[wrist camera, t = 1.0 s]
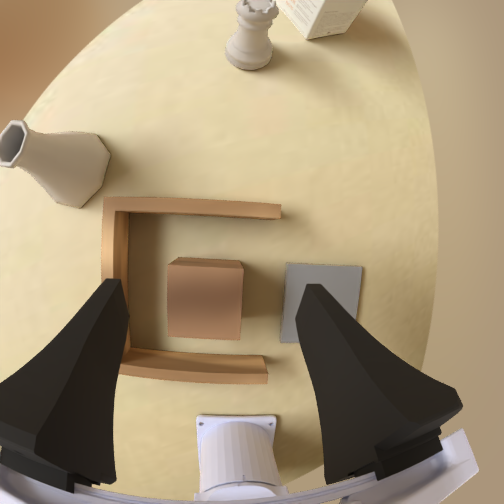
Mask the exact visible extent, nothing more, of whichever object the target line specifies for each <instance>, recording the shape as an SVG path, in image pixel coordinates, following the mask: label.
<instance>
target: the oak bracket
mask: <svg viewBox="0 0 504 504" xmlns="http://www.w3.org/2000/svg"><path fill="white" fill-rule="evenodd" d="M129 213H149V214H176V215H198V216H218V217H235V218H251V219H266V220H274V219H280V218H281V204H270V203H257V202H242V201H227V200H208V199H187V198H157V197H104V204H103V219H102V244H101V279H102V283H103V281H104V280H105V279H106V278H113V279H121V282H122V287H123V291H124V296H125V300H126V304H127V308H128V231H129ZM128 312H129V311H128ZM119 374H122V375H129V376H136V377H143V378H151V379H160V380H170V381H182V382H196V383H215V384H267V380H268V372H267V369H266V366H265V363H264V360H263V357H262V355H220V354H199V353H184V352H171V351H160V350H150V349H141V348H133V347H131V342H130V329H129V323H128V331H127V338H126V343H125V347H124V351H123V356H122V360H121V364H120V369H119Z"/></svg>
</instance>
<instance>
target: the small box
mask: <svg viewBox="0 0 504 504" xmlns="http://www.w3.org/2000/svg"><path fill="white" fill-rule="evenodd" d="M272 1H276V5H277V6H278V7H279V8H280V9H281V10H282V12H283V13H284V14H285V15H286V16H287V17H288V18H289V20H290V21H291V22H292V23H293V24H294V26H295V27H296V28H297V29H298V30H299V32H300V33H301V34H302V35H303V37H304V38H305V39H306V40H308V39H312V38H317V37H323V36H328V35H334V34H341V33H345V32H346V31H347V29H348V28H349V27H350V25H351V24H352V22H353V21H354V19H355V18H356V16H357V15H358V13H359V12H360V11H361V9H362V8H363V6H364V5H365V3H366V2H367V1H368V0H272Z"/></svg>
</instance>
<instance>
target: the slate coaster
mask: <svg viewBox="0 0 504 504" xmlns="http://www.w3.org/2000/svg"><path fill="white" fill-rule="evenodd" d="M361 276H362V266H349V265H325V264H302V263H286V275H285V287H284V299H283V311H282V322H281V332H280V342H281V343H299V339H298V333H297V328H296V322H295V317H296V314H297V311H298V308H299V305H300V302H301V299H302V296H303V293H304V290H305V287H306V284H322V285H323V286H324V287H325V288H326V290H327V291H328V292H329V293H330V294H331V295H332V296H333V297H334V298H335V299H336V300H337V301H338V302H339V303H340V304H341V305H342V307H343V308H344V309H345V310H346V311H347V312H348V313H349V314H350V315H351V316H352V317H353V318H354V319H355V320H356V315H357V308H358V301H359V293H360V285H361Z"/></svg>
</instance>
